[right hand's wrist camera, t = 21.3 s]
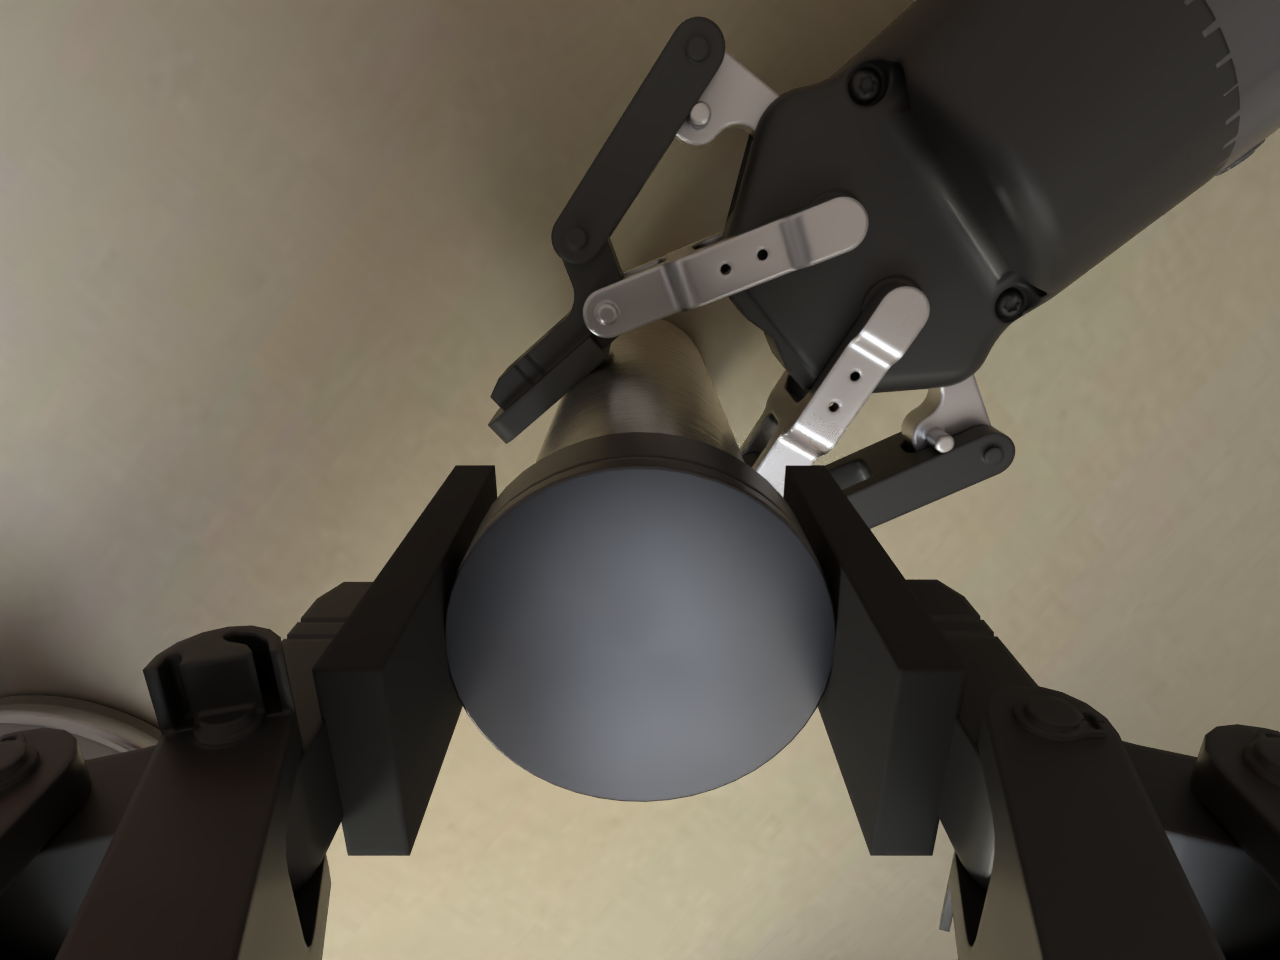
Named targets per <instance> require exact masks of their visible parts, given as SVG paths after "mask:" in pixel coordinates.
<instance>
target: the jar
mask: <svg viewBox="0 0 1280 960" xmlns="http://www.w3.org/2000/svg"><path fill="white" fill-rule="evenodd" d="M629 432H651V433H664V434H670V435H676V436H682V437H686V438H690V439H693V440H697V441H700V442H703V443H707V444H709V445H711V446H714V447H716V448H718V449H720V450H723V451H725V452H727V453H729V454H731V455H733V456H734V457H736V458H738V459H739V460H741V461H743V462H744V460H743V458H742V455H741V453H740V450H739V448H738V445H737V443H736V440H735V438H734V435H733V433H732V431H731V428H730V426H729V423H728V421H727V418H726V416H725V413H724V411H723V408H722V406H721V403H720V401H719V399H718V396H717V394H716V391H715V389H714V386H713V384H712V381H711V379H710V376H709V374H708V371H707V369H706V366H705V364H704V362H703V359H702V357H701V354H700V352H699V350H698V348H697V347H696V345H695V343H694V342H693V341H692V340H691V338H690V337H689V336H688V335H687V334H686V333H685V332H684V331H683V330H681V329H680V328H679V327H677V326H676V325H674V324H672V323H670V322H669V321H666V320H664V319H660V320H657V321H655V322H652V323H650V324H647V325H644V326H642V327H639V328H637V329H634V330H631V331H629V332H626V333H624V334H621V335H620V336H618V337H617V338H616V339H615V340H614V341H613V342H612V343H611V346H610V350H609V355H608V358H607V359H606V360H604V361H603V362H602V363H601V364H600V365H599V366H597V367H596V368H595V369H594V370H593V371H592V372H591V373H589V374H588V375H587V376H585V377H584V378H583V379H582V380H580V381H579V382H578V383H577V384H576V385H575V386H574V387H573V388H572V389H571V390H570V391H569V392H567V393H566V394H565V395H564V396H563V397H562V399H561V401H560V404H559V406H558V409H557V411H556V414H555V416H554V419H553V421H552V424H551V426H550V429H549V431H548V433H547V436H546V438H545V441H544V443H543V446H542V448H541V451H540V453H539V456H538V458H537V461H536V462H538V461H539V460H541V459H542V458H544V457H546V456H548V455H550V454H552V453H554V452H556V451H558V450H560V449H562V448H564V447H566V446H569V445H572V444H575V443H578V442H580V441H583V440H586V439H590V438H595V437H599V436H604V435H609V434H618V433H629Z"/></svg>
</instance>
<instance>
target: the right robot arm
mask: <svg viewBox="0 0 1280 960" xmlns="http://www.w3.org/2000/svg"><path fill="white" fill-rule="evenodd" d="M783 498H784V500H785V501H786V502H787V504H788V505H789V507H790V508H791V510H792V511H793V513H794V514H795V516H796V518H797V520H798V522H799V524H800V526H801V528H802V530H803V532H804V534H805V536H806V538H807V540H808V542H809V544H810V546H811V548H812V550H813V552H814V554H815V556H816V558H817V560H818V562H819V564H820V566H821V568H822V570H823V572H824V574H825V576H826V578H827V581H828V584H829V587H830V591H831V594H832V597H833V600H834V607H835V613H836V620H837V627H836V638H835V647H834V656H833V664H832V672H831V675H830V678H829V681H828V685H827V688H826V690H825V692H824V694H823V696H822V698H821V700H820V702H819V704H818V708H819V711H820V714H821V717H822V719H823V722H824V725H825V728H826V731H827V734H828V736H829V739H830V742H831V745H832V748H833V751H834V753H835V756H836V759H837V762H838V765H839V767H840V770H841V773H842V776H843V779H844V782H845V784H846V787H847V790H848V793H849V796H850V799H851V801H852V804H853V807H854V810H855V813H856V815H857V818H858V821H859V824H860V827H861V830H862V832H863V835H864V838H865V841H866V844H867V847H868V849H869V852H870V855H882V856H932V855H933V850H934V845H935V840H936V834H937V829H938V824H939V819H940V820H941V822H942V825H943V827H944V829H945V831H946V833H947V835H948V837H949V839H950V841H951V843H952V845H953V847H954V849H955V852H954V856H953V861H952V866H951V871H950V875H949V880H948V885H947V890H946V894H945V899H944V904H943V909H942V914H941V921H940V928H939V929H940V930H944V931H948V932H949V931H950V926H951V922H952V917H953V919H954V928H955V936H956V944H957V952H958V960H1280V733H1279V731H1274V730H1270V729H1266V728H1259V727H1252V726H1245V725H1238V724H1236V725H1227V726H1219V727H1216V728H1214V729H1213V730H1211V731H1210V732H1209V733H1207V734H1206V735H1205V737H1204V740H1203V743H1202V746H1201V749H1200V752H1199V754H1198V757H1193V756H1188V755H1183V754H1179V753H1174V752H1169V751H1164V750H1159V749H1154V748H1150V747H1145V746H1140V745H1135V744H1132V743H1128V742H1124V741H1122V740H1121V738H1120V736H1119V734H1118V732H1117V731H1116V730H1115V728H1114V727H1113V726H1112V725H1111V723H1110V722H1109V721H1108V719H1107V718H1106V717H1104V716H1103V715H1102V714H1100V713H1099V712H1098V711H1096V710H1095V709H1093V708H1092V707H1091V706H1089V705H1088V704H1087V703H1084V702H1082V701H1080V700H1078V699H1076V698H1074V697H1071V696H1069V695H1067V694H1065V693H1063V692H1059V691H1055V690H1051V689H1047V688H1044V687H1040V686H1038V685H1037V684H1036V683H1035V682H1034V680H1033V679H1032V678H1031V677H1030V676H1029V674H1028V673H1027V672H1026V671H1025V670H1024V668H1023V667H1022V666H1021V665H1020V663H1019V662H1018V661H1017V660H1016V659H1015V657H1014V656H1013V655H1012V654H1011V653H1010V651H1009V650H1008V649H1007V648H1006V647H1005V645H1004V644H1003V643H1002V642H1001V641H1000V639H999V638H998V637H994V632H993V631H992V630H991V628H990V627H989V626H988V625H987V624H986V622H985V621H984V620H980V615H979V614H978V613H977V612H976V610H975V609H974V608H973V607H972V605H971V604H970V603H969V602H968V601H967V599H966V598H965V597H964V596H962V595H961V594H959V593H958V592H956V591H954V590H953V589H951V588H950V587H948V586H946V585H945V584H943V583H941V582H940V581H938V580H905V578H904V577H903V575H902V574H901V573H900V571H899V570H898V568H897V567H896V566H895V564H894V563H893V561H892V560H891V559H890V557H889V556H888V554H887V553H886V551H885V550H884V549H883V547H882V546H881V544H880V543H879V542H878V540H877V539H876V537H875V536H874V535H873V533H872V532H871V530H870V529H869V527H868V526H867V525H866V523H865V522H864V520H863V519H862V518H861V516H860V515H859V513H858V512H857V511H856V509H855V508H854V506H853V505H852V503H851V502H850V501H849V499H848V498H847V496H846V495H845V494H844V492H843V491H842V489H841V488H840V487H839V485H838V484H837V482H836V481H835V479H834V478H833V477H832V475H831V474H830V472H829V471H828V470H827V468H826V467H825V466H800V465H786V468H785V481H784V494H783ZM496 499H497V488H496V475H495V465H492V466H455V467H454V469H453V470H452V472H451V473H450V474H449V476H448V477H447V479H446V480H445V482H444V483H443V484H442V486H441V487H440V489H439V490H438V491H437V493H436V494H435V496H434V497H433V498H432V500H431V501H430V503H429V504H428V506H427V507H426V508H425V510H424V511H423V513H422V514H421V515H420V517H419V518H418V520H417V521H416V522H415V524H414V525H413V527H412V528H411V530H410V531H409V532H408V534H407V535H406V537H405V538H404V539H403V541H402V542H401V544H400V545H399V547H398V548H397V549H396V551H395V552H394V554H393V555H392V556H391V558H390V559H389V561H388V562H387V563H386V565H385V566H384V568H383V569H382V571H381V572H380V573H379V575H378V576H377V578H376V579H375V580H374V582H343V583H341V584H340V585H338V586H337V587H335V588H333V589H332V590H330V591H329V592H327V593H325V594H324V595H322V596H321V597H319V598H317V599H316V601H315V602H314V603H313V604H312V605H311V607H310V608H309V609H308V610H307V612H306V613H305V614H304V615H303V616H302V618H301V622H297V624H296V625H295V626H294V627H293V629H292V630H291V631H290V632H289V633H288V635H287V639H284V640H283V641H282V642H281V637H279V636H278V635H277V634H275V633H274V632H273V631H272V630H270V629H266V628H261V627H256V626H234V627H225V628H221V629H216V630H212V631H207V632H203V633H200V634H198V635H195V636H192V637H190V638H187V639H185V640H182V641H180V642H177V643H176V644H174V645H172V646H171V647H169V648H168V649H166V650H164V651H163V652H161V653H160V654H158V655H156V656H155V657H154V659H153V660H152V661H151V662H150V663H149V664H148V665H147V666H146V667H145V668H144V669H143V673H144V676H145V680H146V683H147V686H148V690H149V693H150V696H151V700H152V703H153V707H154V710H155V713H156V717H157V720H158V724H159V727H160V730H159V729H157V728H155V727H154V726H152V725H150V724H148V723H146V722H144V721H142V720H140V719H138V718H135V717H133V716H131V715H128V714H126V713H124V712H121V711H118V710H115V709H112V708H109V707H107V706H103V705H99V704H96V703H92V702H88V701H83V700H78V699H73V698H67V697H59V696H48V695H17V696H9V697H1V698H0V960H322V954H323V946H324V938H325V930H326V921H327V913H328V905H329V896H330V888H331V879H330V872H329V866H328V861H327V856H326V852H327V850H328V848H329V846H330V844H331V842H332V839H333V837H334V835H335V833H336V831H337V829H338V827H339V825H340V823H341V822H342V827H343V832H344V837H345V842H346V847H347V853H348V856H410V853H411V851H412V848H413V845H414V842H415V839H416V836H417V834H418V831H419V828H420V825H421V822H422V820H423V817H424V814H425V811H426V808H427V805H428V803H429V800H430V797H431V794H432V791H433V788H434V786H435V783H436V780H437V777H438V774H439V772H440V769H441V766H442V763H443V760H444V757H445V755H446V752H447V749H448V746H449V743H450V740H451V738H452V735H453V732H454V729H455V726H456V723H457V721H458V718H459V715H460V712H461V709H462V707H463V705H462V703H461V701H460V700H459V698H458V696H457V693H456V691H455V688H454V686H453V683H452V680H451V678H450V674H449V668H448V660H447V652H446V643H445V633H444V617H445V608H446V604H447V600H448V596H449V592H450V588H451V585H452V583H453V580H454V578H455V575H456V573H457V571H458V568H459V566H460V564H461V562H462V560H463V558H464V556H465V554H466V552H467V550H468V548H469V546H470V544H471V542H472V540H473V538H474V536H475V534H476V532H477V530H478V528H479V526H480V524H481V522H482V520H483V519H484V517H485V515H486V514H487V512H488V510H489V509H490V507H491V505H492V504H493V503H494V501H495V500H496Z"/></svg>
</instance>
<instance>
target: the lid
mask: <svg viewBox="0 0 1280 960" xmlns="http://www.w3.org/2000/svg"><path fill="white" fill-rule="evenodd" d="M836 627H837V620H836V613H835V607H834V600H833V597H832V594H831V591H830V587H829V584H828V581H827V578H826V576H825V574H824V572H823V570H822V568H821V566H820V564H819V562H818V560H817V558H816V556H815V554H814V552H813V550H812V548H811V546H810V544H809V542H808V540H807V538H806V536H805V534H804V532H803V530H802V528H801V526H800V524H799V522H798V520H797V518H796V516H795V514H794V513H793V511H792V510H791V508H790V507H789V505H788V504H787V502H786V501H785V500H784V498H783V497H782V496H781V494H780V493H779V492H778V491H777V490H776V489H775V488H774V487H773V486H772V485H771V484H770V483H769V482H768V480H766V479H765V478H764V477H763V476H761V475H760V474H759V473H758V472H757V471H755V470H754V469H753V468H752V467H750V466H749V465H747V464H746V463H744V462H743V461H741V460H739V459H738V458H736V457H734V456H733V455H731V454H729V453H727V452H725V451H723V450H720V449H718V448H716V447H714V446H711V445H709V444H707V443H703V442H700V441H697V440H693V439H690V438H686V437H682V436H676V435H670V434H664V433H651V432H629V433H618V434H609V435H604V436H599V437H595V438H590V439H586V440H583V441H580V442H578V443H575V444H572V445H569V446H566V447H564V448H562V449H560V450H558V451H556V452H554V453H552V454H550V455H548V456H546V457H544V458H542V459H541V460H539V461H538V462H536V463H535V464H533V465H532V466H531V467H529V468H528V469H526V470H525V471H523V472H522V473H521V474H520V475H519V476H518V477H517V478H516V479H515V480H513V481H512V482H511V483H510V484H509V485H508V486H507V487H506V488H505V489H504V490H503V492H502V493H501V494H500V495H499V497H498V498H497V499H496V500H495V501H494V503H493V504H492V505H491V507H490V509H489V510H488V512H487V514H486V515H485V517H484V519H483V520H482V522H481V524H480V526H479V528H478V530H477V532H476V534H475V536H474V538H473V540H472V542H471V544H470V546H469V548H468V550H467V552H466V554H465V556H464V558H463V560H462V562H461V564H460V566H459V568H458V571H457V573H456V575H455V578H454V580H453V583H452V585H451V588H450V592H449V596H448V600H447V604H446V608H445V617H444V633H445V643H446V652H447V660H448V668H449V674H450V678H451V680H452V683H453V686H454V688H455V691H456V693H457V696H458V698H459V700H460V701H461V703H462V705H463V707H464V709H465V710H466V712H467V714H468V716H469V717H470V718H471V720H472V721H473V722H474V724H475V725H476V726H477V728H478V729H479V730H480V732H481V733H482V734H483V735H484V736H485V737H486V738H487V739H488V740H489V741H490V742H491V743H492V744H493V745H494V746H495V747H496V748H497V749H498V750H499V751H500V752H501V753H503V754H504V755H505V756H506V757H508V758H509V759H510V760H511V761H513V762H514V763H515V764H517V765H519V766H520V767H522V768H523V769H525V770H527V771H528V772H530V773H531V774H533V775H535V776H537V777H539V778H541V779H543V780H545V781H547V782H549V783H552V784H554V785H556V786H559V787H562V788H565V789H567V790H570V791H573V792H576V793H580V794H584V795H588V796H593V797H597V798H603V799H611V800H618V801H640V802H648V801H661V800H671V799H677V798H683V797H688V796H693V795H696V794H700V793H703V792H707V791H710V790H714V789H716V788H719V787H721V786H724V785H726V784H729V783H731V782H734V781H736V780H738V779H740V778H741V777H743V776H745V775H747V774H749V773H751V772H753V771H754V770H756V769H757V768H759V767H760V766H762V765H763V764H765V763H766V762H768V761H769V760H770V759H772V758H773V757H774V756H776V755H777V754H778V753H779V752H780V751H781V750H782V749H783V748H785V747H786V746H787V745H788V744H789V743H790V742H791V741H792V740H793V739H794V738H795V736H796V735H797V734H798V733H799V732H800V731H801V730H802V728H803V727H804V726H805V725H806V723H807V722H808V720H809V719H810V717H811V716H812V714H813V713H814V711H815V710H816V708H817V706H818V704H819V702H820V700H821V698H822V696H823V694H824V692H825V690H826V688H827V685H828V681H829V678H830V675H831V672H832V664H833V656H834V647H835V638H836Z"/></svg>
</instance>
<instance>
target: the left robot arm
mask: <svg viewBox="0 0 1280 960" xmlns="http://www.w3.org/2000/svg"><path fill="white" fill-rule="evenodd" d="M730 128H738V129H742V130H744V131H746V132H747V133H749V138H748V141H747V145H746V149H745V153H744V156H743V160H742V164H741V168H740V171H739V175H738V179H737V183H736V187H735V190H734V194H733V198H732V202H731V205H730V209H729V213H728V217H727V220H726V224H725V228H724V231H721V232H719V233H716V234H714V235H711V236H709V237H706V238H704V239H701V240H699V241H696V242H694V243H691V244H689V245H686V246H684V247H681V248H679V249H676V250H674V251H671V252H669V253H667V254H665V255H663V256H661V257H659V258H657V259H655V260H652V261H650V262H647V263H645V264H642V265H640V266H637V267H635V268H632V269H630V270H627V271H625V272H622V270H621V267H620V264H619V261H618V259H617V256H616V253H615V251H614V248H613V245H612V243H611V240H610V236H611V234H612V233H613V231H614V230H615V228H616V227H617V225H618V224H619V222H620V221H621V219H622V218H623V216H624V215H625V213H626V212H627V210H628V208H629V207H630V205H631V204H632V202H633V201H634V199H635V198H636V196H637V195H638V193H639V192H640V190H641V189H642V187H643V186H644V184H645V183H646V181H647V179H648V178H649V176H650V175H651V173H652V172H653V170H654V169H655V167H656V166H657V164H658V163H659V161H660V160H661V158H662V157H663V155H664V153H665V152H666V150H667V149H668V147H669V146H670V144H671V143H672V141H673V140H674V139H675V140H677V141H678V142H679V143H680V144H682V145H683V146H685V147H688V148H701V147H704V146H705V145H707V144H709V143H710V142H711V141H712V140H713V139H714V138H715V137H716V136H717V135H718V134H719V133H720V132H722V131H724V130H726V129H730ZM1279 128H1280V0H917V1H916V2H914V3H913V4H912V5H911V6H910V7H909V8H908V9H907V10H906V11H904V12H903V13H902V14H901V15H900V16H899V17H898V18H897V19H896V20H894V21H893V22H892V23H891V24H890V25H889V26H888V27H887V28H885V29H884V30H883V31H882V32H881V33H880V34H879V35H878V36H877V37H875V38H874V39H873V40H872V41H871V42H870V43H869V44H868V45H867V46H865V47H864V48H863V49H862V50H861V51H860V52H859V53H858V54H857V55H855V56H854V57H853V58H852V59H851V60H850V61H849V62H848V63H847V64H845V65H844V66H843V67H842V68H841V69H840V70H839V71H837V72H836V73H835V74H834V75H833V76H831V77H830V78H829V79H827V80H824V81H822V82H820V83H817V84H814V85H810V86H806V87H801V88H796V89H793V90H790V91H788V92H786V93H784V94H782V95H781V96H780V95H779V94H777V93H776V92H775V91H774V90H773V89H771V88H770V87H769V86H768V85H767V84H765V83H764V82H763V81H762V80H761V79H759V78H758V77H757V76H756V75H755V74H753V73H752V72H751V71H750V70H749V69H747V68H746V67H745V66H744V65H743V64H741V63H740V62H739V61H738V60H737V59H736V58H734V57H733V56H732V55H731V54H730V53H728V52H727V51H726V50H725V40H724V36H723V34H722V32H721V30H720V28H719V27H718V26H717V25H716V24H715V23H714V22H713V21H711V20H710V19H707V18H704V17H693V18H689V19H687V20H685V21H684V22H682V23H681V24H680V25H679V26H678V28H677V29H676V30H675V32H674V33H673V35H672V37H671V38H670V40H669V41H668V43H667V45H666V46H665V48H664V49H663V51H662V53H661V54H660V56H659V57H658V59H657V61H656V62H655V64H654V65H653V67H652V69H651V70H650V72H649V73H648V75H647V77H646V78H645V80H644V81H643V83H642V85H641V86H640V88H639V89H638V91H637V93H636V94H635V96H634V97H633V99H632V101H631V102H630V104H629V105H628V107H627V109H626V110H625V112H624V113H623V115H622V117H621V118H620V120H619V121H618V123H617V125H616V126H615V128H614V129H613V131H612V133H611V134H610V136H609V137H608V139H607V141H606V142H605V144H604V145H603V147H602V149H601V150H600V152H599V153H598V155H597V157H596V158H595V160H594V162H593V163H592V165H591V166H590V168H589V170H588V171H587V173H586V174H585V176H584V178H583V179H582V181H581V182H580V184H579V186H578V187H577V189H576V190H575V192H574V194H573V195H572V197H571V198H570V200H569V202H568V203H567V205H566V206H565V208H564V210H563V211H562V213H561V214H560V216H559V218H558V219H557V221H556V222H555V224H554V226H553V229H552V235H551V236H552V244H553V247H554V250H555V251H556V253H557V254H558V255H559V257H561V258H562V260H563V262H564V265H565V267H566V270H567V272H568V275H569V277H570V280H571V283H572V285H573V289H574V304H573V308H572V310H571V311H570V312H569V313H568V314H567V315H566V316H565V317H564V318H562V319H561V320H560V321H559V322H558V323H557V324H556V325H555V326H554V327H552V328H551V329H550V330H549V331H548V332H547V333H546V334H545V335H544V336H542V337H541V338H540V339H539V340H538V341H537V342H536V343H535V344H534V345H532V346H531V347H530V348H529V349H528V350H527V351H526V352H525V353H524V354H522V355H521V356H520V357H519V358H518V359H517V360H516V361H515V362H513V363H512V364H511V365H510V366H509V367H508V368H507V369H506V370H505V372H504V373H503V374H502V375H501V377H500V378H499V379H498V381H497V383H496V386H495V388H494V390H493V392H492V394H491V396H490V397H491V398H492V399H493V400H494V401H495V402H496V403H497V404H498V405H499V406H500V407H501V408H500V409H499V410H498V411H497V412H496V414H495V415H494V416H493V418H492V419H491V421H490V422H489V424H488V426H489V427H490V428H491V429H492V430H493V431H494V432H495V433H496V434H497V435H498V436H499V437H500V438H501V439H502V440H503V441H504V442H505V443H506V444H507V443H509V442H510V441H511V440H513V439H514V438H515V437H516V436H518V435H519V434H520V433H521V432H522V431H523V430H524V429H526V428H527V427H528V426H529V425H530V424H531V423H533V422H534V421H535V420H536V419H537V418H538V417H540V416H541V415H542V414H543V413H544V412H545V411H547V410H548V409H549V408H550V407H551V406H552V405H553V404H555V403H556V402H557V401H558V400H559V399H560V398H562V397H563V396H564V395H565V394H566V393H567V392H569V391H570V390H571V389H572V388H573V387H574V386H575V385H576V384H577V383H578V382H579V381H580V380H582V379H583V378H584V377H585V376H587V375H588V374H589V373H591V372H592V371H593V370H594V369H595V368H596V367H597V366H599V365H600V364H601V363H602V362H603V361H604V360H606V359H607V358H608V355H609V350H610V346H611V343H612V342H613V341H614V340H615V339H616V338H617V337H618V336H620V335H621V334H624V333H626V332H629V331H631V330H634V329H637V328H639V327H642V326H644V325H647V324H650V323H652V322H655V321H657V320H660V319H662V318H665V317H668V316H670V315H673V314H676V313H679V312H683V311H689V310H693V309H696V308H699V307H702V306H705V305H707V304H710V303H712V302H715V301H718V300H720V299H723V298H725V297H729V299H730V300H731V301H732V302H733V304H734V305H735V306H736V307H737V309H738V310H739V311H740V312H741V313H742V314H743V315H744V316H745V317H746V318H747V319H748V320H749V321H751V322H752V323H753V324H755V325H756V326H757V327H759V328H760V329H762V330H763V331H764V334H765V336H766V339H767V341H768V344H769V346H770V348H771V351H772V353H773V354H774V355H775V357H776V358H777V359H778V360H779V362H780V363H781V364H782V365H783V367H784V368H785V369H786V370H785V372H784V373H783V375H782V376H781V378H780V379H779V381H778V383H777V384H776V386H775V387H774V389H773V390H772V392H771V394H770V396H769V398H768V400H767V404H766V408H765V410H764V412H763V414H762V416H761V417H760V419H759V420H758V422H757V423H756V425H755V426H754V428H753V429H752V431H751V432H750V434H749V436H748V437H747V439H746V440H745V442H744V443H743V445H742V446H741V448H740V449H739V450H740V453H741V455H742V458H743V460H744V463H746V464H747V465H749V466H750V467H752V468H753V469H754V470H755V471H757V472H758V473H759V474H760V475H761V476H763V477H764V478H765V479H766V480H768V482H769V483H770V484H771V485H772V486H773V487H774V488H775V489H776V490H777V491H778V492H779V493H780V494H781V496H782V497H783V494H784V481H785V468H786V465H800V466H812V464H813V463H814V462H815V460H816V459H817V458H818V457H819V456H821V455H825V454H827V453H828V452H829V451H830V450H831V449H832V448H833V447H834V446H835V444H836V443H837V442H838V440H839V439H840V437H841V436H842V435H843V433H844V432H845V430H846V429H847V427H848V426H849V425H850V423H851V422H852V420H853V419H854V418H855V416H856V415H857V413H858V412H859V410H860V409H861V408H862V406H863V405H864V403H865V402H866V400H867V399H868V398H869V396H870V395H871V393H879V392H892V391H904V390H917V389H928V394H927V396H926V398H925V400H924V402H923V403H922V404H921V405H920V406H918V407H917V408H915V409H914V410H912V411H911V412H910V413H908V415H907V416H906V417H905V419H904V420H903V423H902V428H901V431H902V432H899V433H897V434H895V435H893V436H890V437H888V438H886V439H884V440H881V441H879V442H877V443H875V444H873V445H870V446H868V447H866V448H864V449H861V450H859V451H857V452H855V453H852V454H850V455H848V456H846V457H843V458H841V459H839V460H837V461H834V462H832V463H830V464H828V465H826V466H825V467H826V468H827V470H828V471H829V472H830V474H831V475H832V477H833V478H834V479H835V481H836V482H837V484H838V485H839V487H840V488H841V489H842V491H843V492H844V494H845V495H846V496H847V498H848V499H849V501H850V502H851V503H852V505H853V506H854V508H855V509H856V511H857V512H858V513H859V515H860V516H861V518H862V519H863V520H864V522H865V523H866V525H867V526H868V527H869V529H871V528H873V527H875V526H878V525H880V524H882V523H885V522H887V521H890V520H892V519H894V518H897V517H899V516H901V515H904V514H906V513H908V512H911V511H913V510H915V509H918V508H920V507H922V506H925V505H927V504H929V503H932V502H934V501H936V500H939V499H941V498H943V497H946V496H948V495H950V494H953V493H955V492H957V491H960V490H962V489H964V488H967V487H969V486H971V485H974V484H976V483H978V482H981V481H983V480H985V479H988V478H990V477H992V476H995V475H997V474H999V473H1001V472H1003V471H1004V470H1006V469H1007V468H1008V467H1009V466H1010V464H1011V463H1012V461H1013V459H1014V456H1015V446H1014V443H1013V442H1012V440H1011V439H1010V438H1009V437H1008V436H1006V435H1005V434H1003V433H1002V432H1000V431H998V430H997V429H995V428H994V427H992V426H991V424H990V421H989V418H988V415H987V412H986V409H985V406H984V403H983V400H982V397H981V394H980V391H979V388H978V385H977V382H976V379H975V376H974V373H975V372H976V371H977V370H978V369H979V368H980V367H981V365H982V364H983V363H984V361H985V359H986V357H987V356H988V354H989V352H990V350H991V348H992V346H993V345H994V343H995V342H996V340H997V339H998V338H999V336H1000V335H1001V334H1002V332H1003V331H1004V330H1005V329H1006V328H1007V327H1008V326H1009V325H1010V324H1011V323H1013V322H1014V321H1015V320H1017V319H1018V318H1020V317H1021V316H1023V315H1025V314H1026V313H1028V312H1030V311H1031V310H1033V309H1035V308H1037V307H1038V306H1040V305H1042V304H1043V303H1045V302H1046V301H1048V300H1049V299H1051V298H1053V297H1054V296H1055V295H1057V294H1058V293H1059V292H1061V291H1062V290H1063V289H1065V288H1066V287H1067V286H1069V285H1070V284H1071V283H1073V282H1074V281H1075V280H1077V279H1078V278H1079V277H1081V276H1082V275H1083V274H1085V273H1086V272H1087V271H1089V270H1090V269H1091V268H1093V267H1094V266H1095V265H1097V264H1098V263H1099V262H1101V261H1102V260H1103V259H1105V258H1106V257H1107V256H1109V255H1110V254H1111V253H1113V252H1114V251H1115V250H1117V249H1118V248H1119V247H1121V246H1122V245H1123V244H1125V243H1126V242H1127V241H1129V240H1130V239H1131V238H1133V237H1134V236H1135V235H1137V234H1138V233H1139V232H1141V231H1142V230H1143V229H1145V228H1146V227H1147V226H1149V225H1150V224H1151V223H1153V222H1154V221H1155V220H1157V219H1158V218H1159V217H1161V216H1162V215H1164V214H1165V213H1167V212H1168V211H1169V210H1171V209H1172V208H1173V207H1175V206H1176V205H1177V204H1179V203H1180V202H1181V201H1183V200H1184V199H1185V198H1187V197H1188V196H1189V195H1191V194H1192V193H1193V192H1195V191H1196V190H1197V189H1199V188H1200V187H1201V186H1203V185H1204V184H1205V183H1207V182H1208V181H1209V180H1211V179H1212V178H1213V177H1214V176H1217V175H1220V174H1222V173H1224V172H1226V171H1228V170H1230V169H1231V168H1233V167H1235V166H1236V165H1238V164H1239V163H1241V162H1242V161H1244V160H1245V159H1246V158H1248V157H1249V156H1250V155H1251V154H1252V153H1253V152H1254V151H1255V150H1256V149H1257V148H1258V147H1259V146H1260V145H1261V144H1262V143H1263V142H1264V141H1265V139H1266V138H1267V137H1268V136H1269V135H1271V134H1272V133H1273V132H1275V131H1276V130H1277V129H1279ZM831 403H834V404H833V405H832V406H830V404H831ZM829 406H830V407H829Z"/></svg>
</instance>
